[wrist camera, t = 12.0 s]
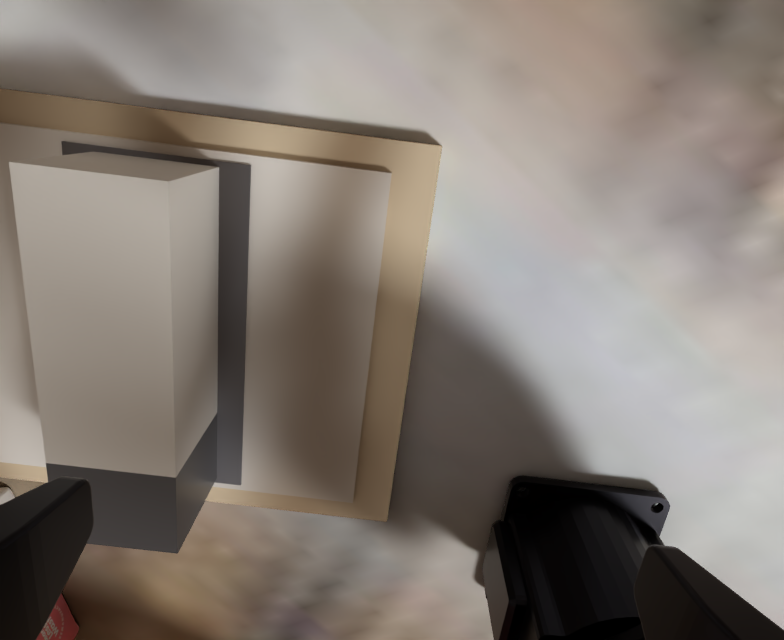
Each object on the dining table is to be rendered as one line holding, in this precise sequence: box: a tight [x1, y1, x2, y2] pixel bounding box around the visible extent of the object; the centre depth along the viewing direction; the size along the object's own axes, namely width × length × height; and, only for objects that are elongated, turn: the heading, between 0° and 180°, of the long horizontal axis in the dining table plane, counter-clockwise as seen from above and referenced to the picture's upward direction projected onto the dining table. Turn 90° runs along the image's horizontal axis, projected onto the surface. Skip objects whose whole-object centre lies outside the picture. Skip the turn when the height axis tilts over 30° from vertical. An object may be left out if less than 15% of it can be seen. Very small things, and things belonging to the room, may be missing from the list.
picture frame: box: [0, 88, 442, 522], centre depth 20 cm, size 20×15×1 cm
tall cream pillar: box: [9, 152, 219, 553], centre depth 18 cm, size 4×12×4 cm, turn 173°
